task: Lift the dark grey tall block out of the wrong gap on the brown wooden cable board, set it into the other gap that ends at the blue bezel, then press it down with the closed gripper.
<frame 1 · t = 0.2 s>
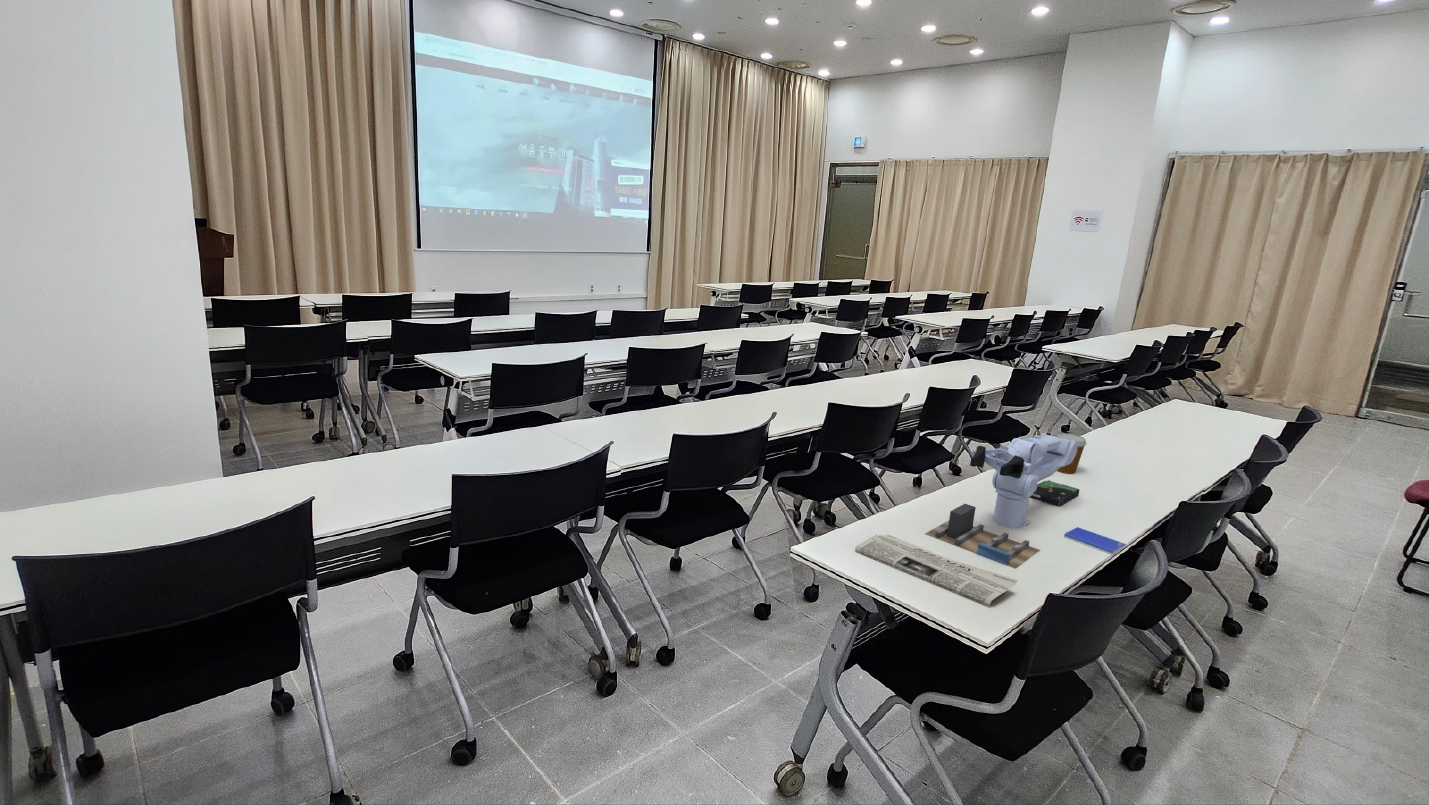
hand: (986, 466, 174), 21 cm above the table, tool horizontal, fingers open, 7 cm apart
newspaper: (932, 572, 166), on the table
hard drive: (1093, 544, 185), on the table
dark grey tall block: (959, 533, 184), point 1 cm above the table, touching cable board
cable board: (981, 544, 180), on the table
disk drive: (1051, 498, 216), on the table
disposable coffee cup: (1065, 471, 239), on the table
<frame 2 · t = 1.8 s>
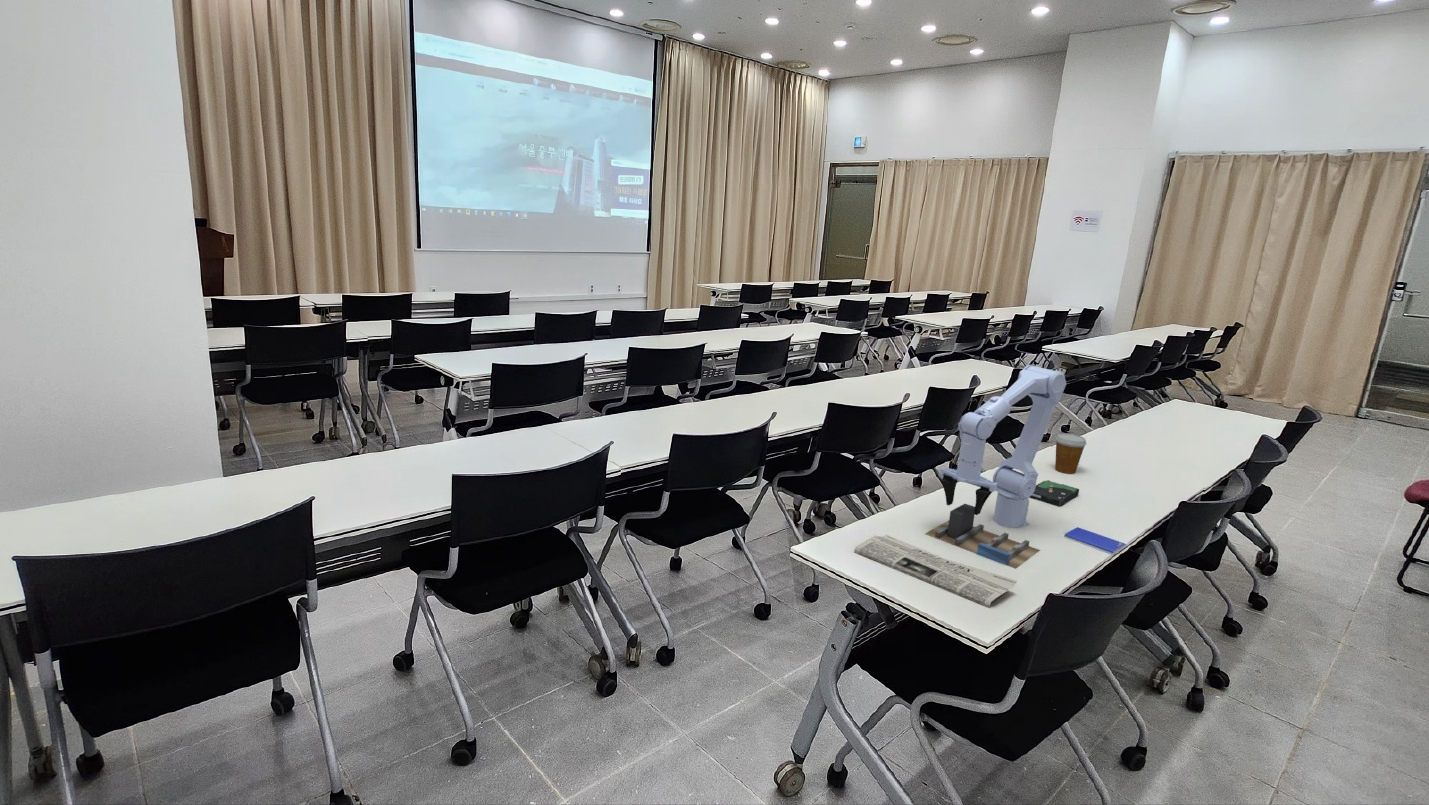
hand: (963, 509, 182), 8 cm above the table, tool pointing down, fingers open, 7 cm apart
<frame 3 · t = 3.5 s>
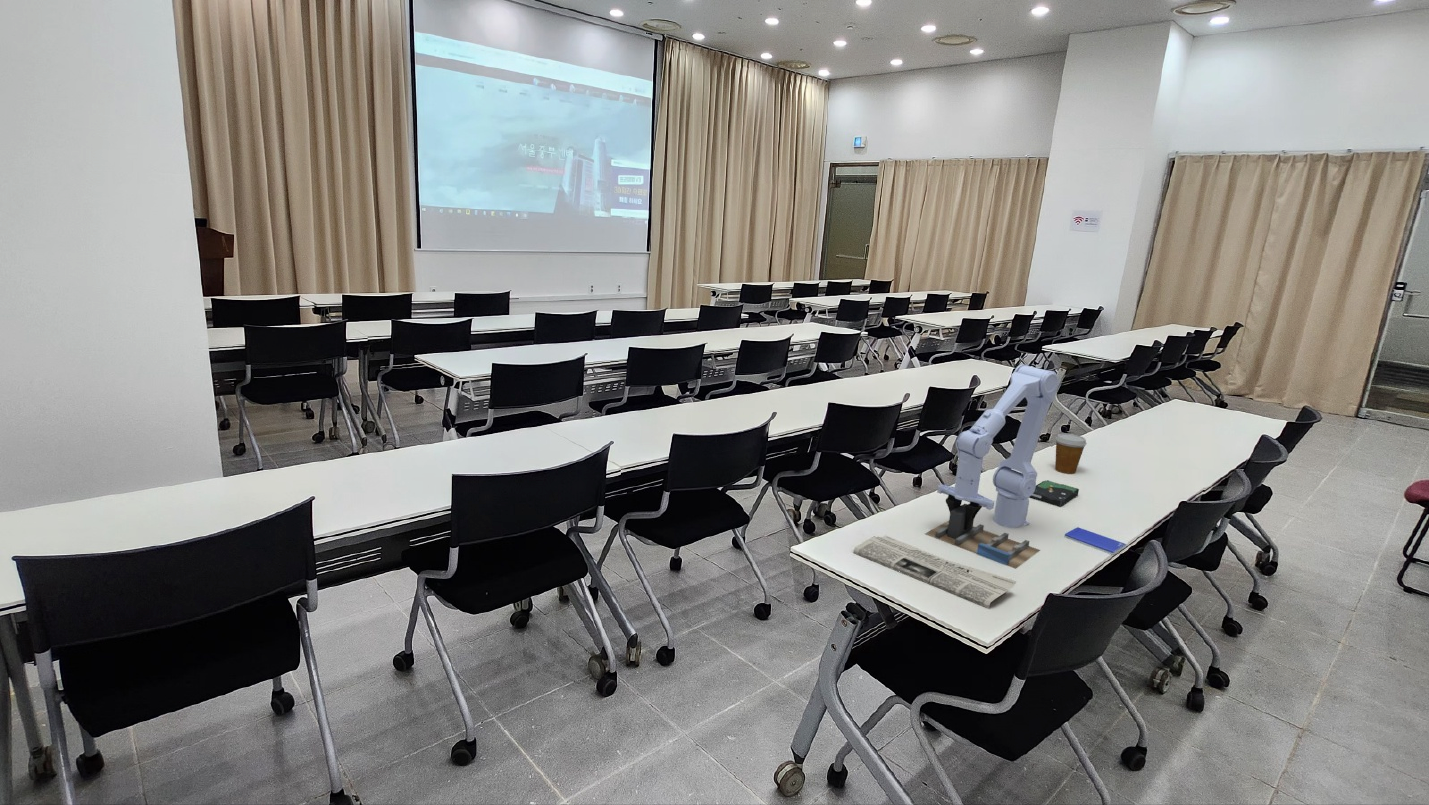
hand: (960, 526, 183), 3 cm above the table, tool pointing down, fingers closed on dark grey tall block, 3 cm apart
dark grey tall block: (959, 533, 184), point 1 cm above the table, touching cable board, gripper
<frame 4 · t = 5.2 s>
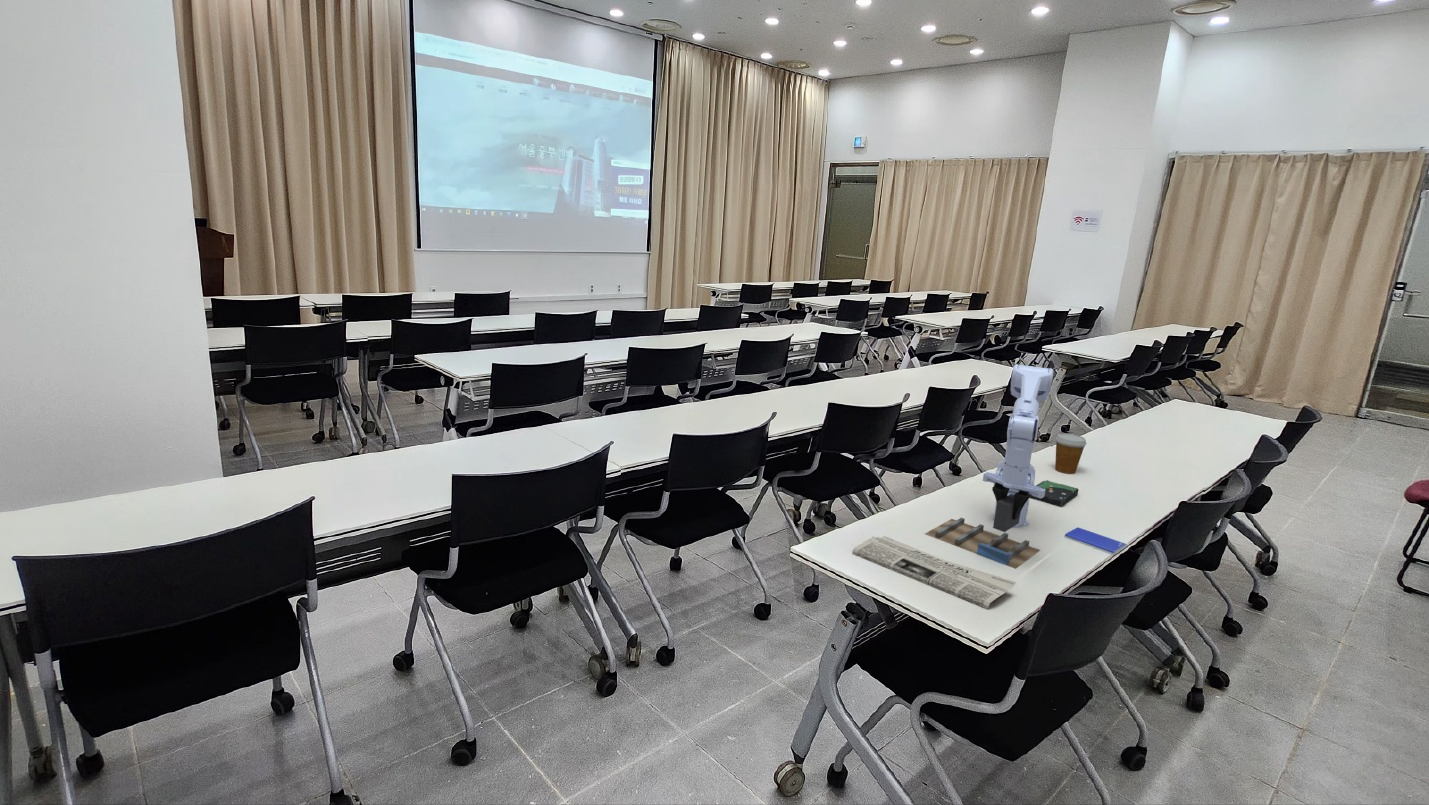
hand: (1007, 516, 174), 10 cm above the table, tool pointing down, fingers closed on dark grey tall block, 3 cm apart
dark grey tall block: (1005, 525, 174), point 7 cm above the table, touching gripper
when the fingers open (4 cm above the table, at t = 7.1 s): dark grey tall block stays where it is, resting on cable board.
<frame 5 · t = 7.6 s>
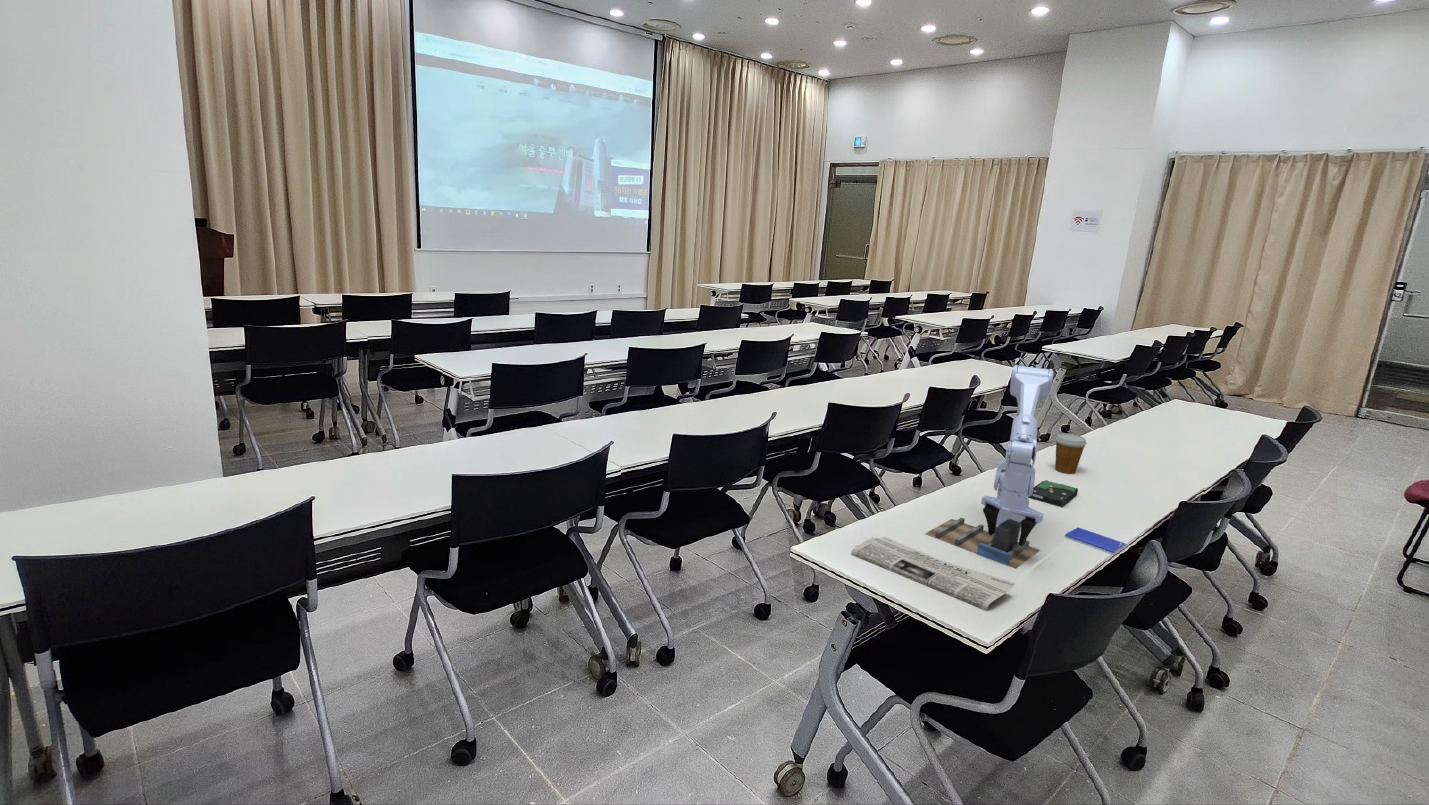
hand: (1006, 539, 175), 4 cm above the table, tool pointing down, fingers open, 7 cm apart
dark grey tall block: (1003, 550, 176), point 1 cm above the table, touching cable board
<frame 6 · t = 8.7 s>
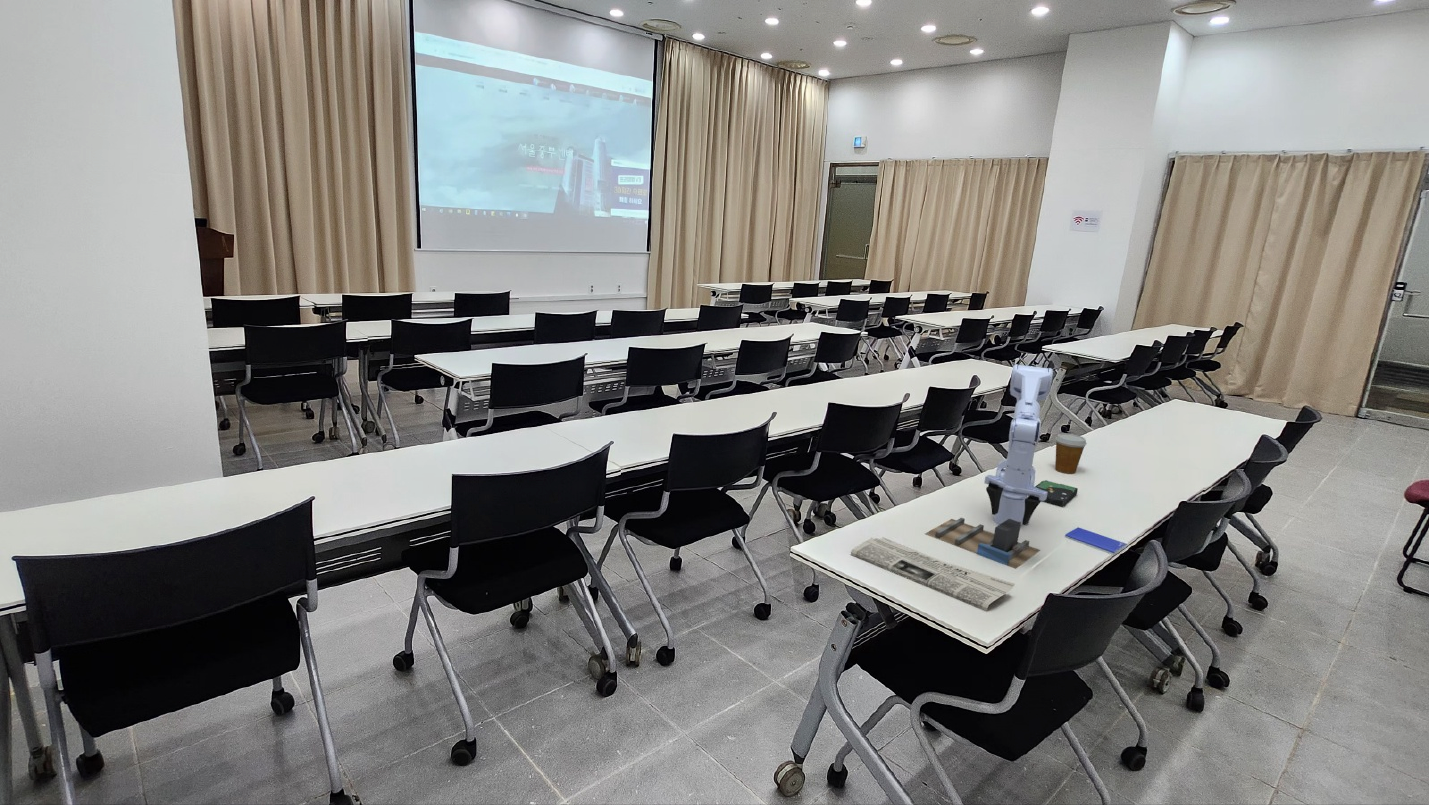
hand: (1009, 518, 174), 9 cm above the table, tool pointing down, fingers open, 7 cm apart
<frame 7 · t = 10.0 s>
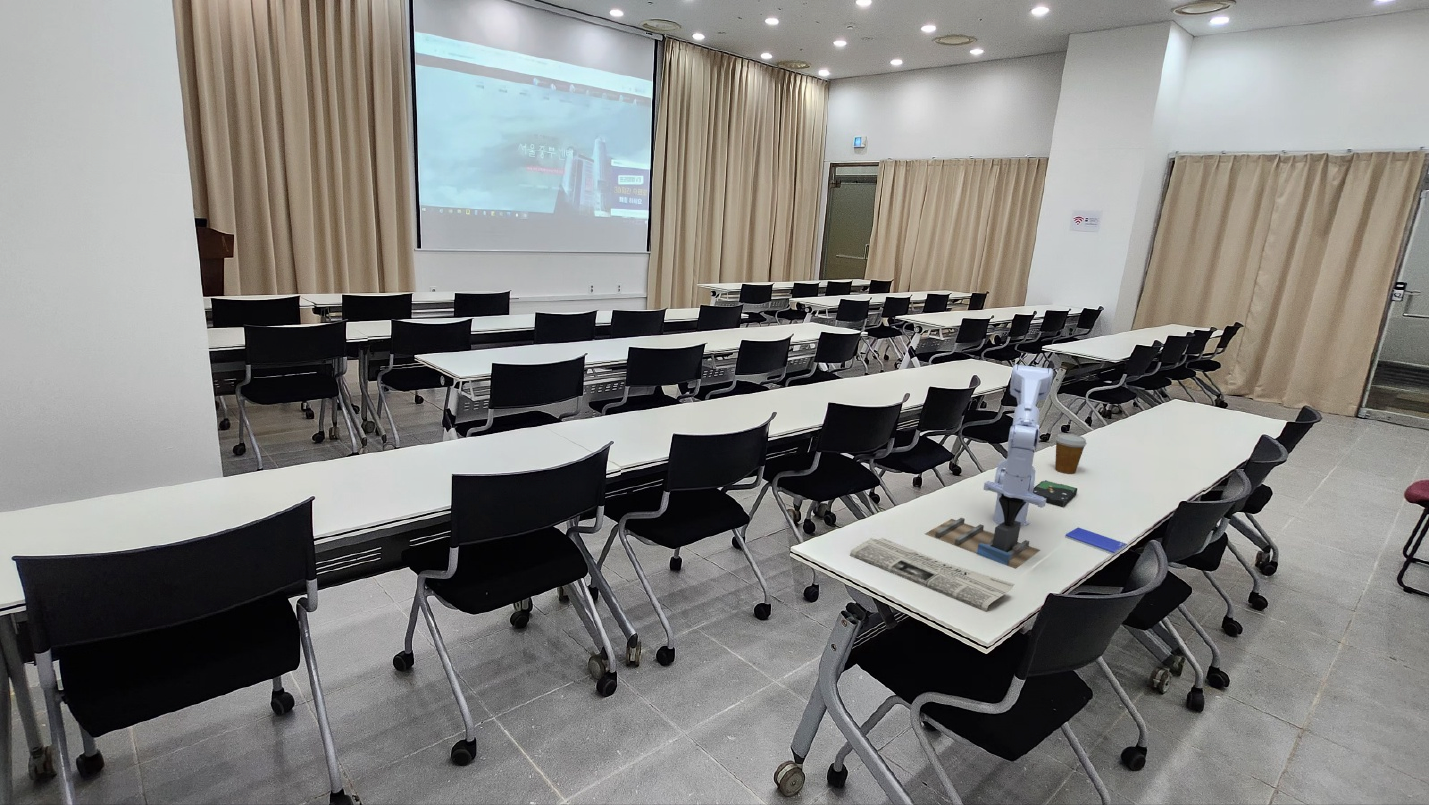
hand: (1008, 525, 174), 8 cm above the table, tool pointing down, fingers closed, pressing on dark grey tall block
dark grey tall block: (1003, 550, 176), point 1 cm above the table, touching cable board, gripper
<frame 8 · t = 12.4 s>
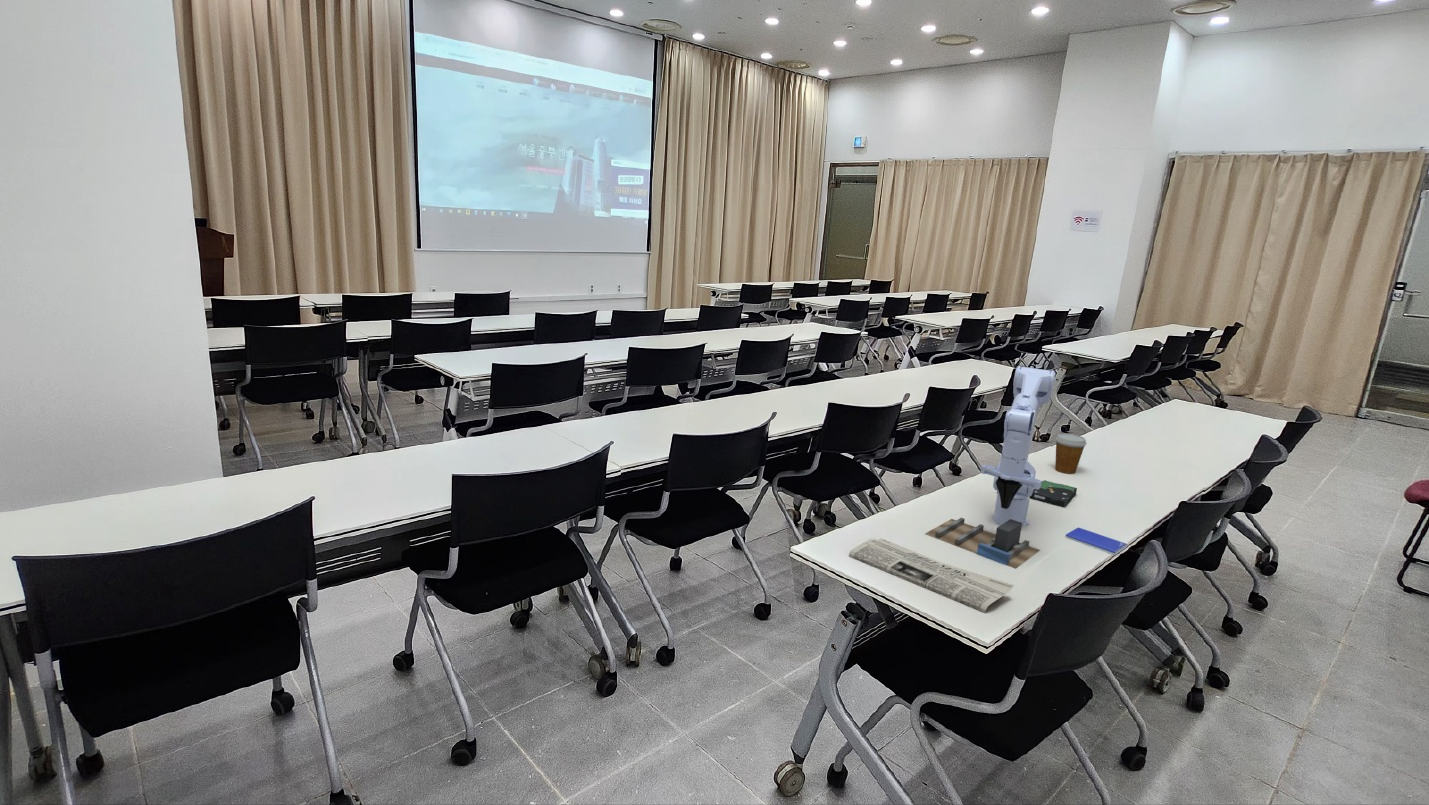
hand: (1005, 507, 178), 10 cm above the table, tool pointing down, fingers closed
dark grey tall block: (1005, 551, 175), point 1 cm above the table, touching cable board
at the end: dark grey tall block 0.4 cm from the target spot on the cable board, point 0.8 cm above the cable board's base; dark grey tall block tilted 0°; the gripper is holding nothing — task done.
